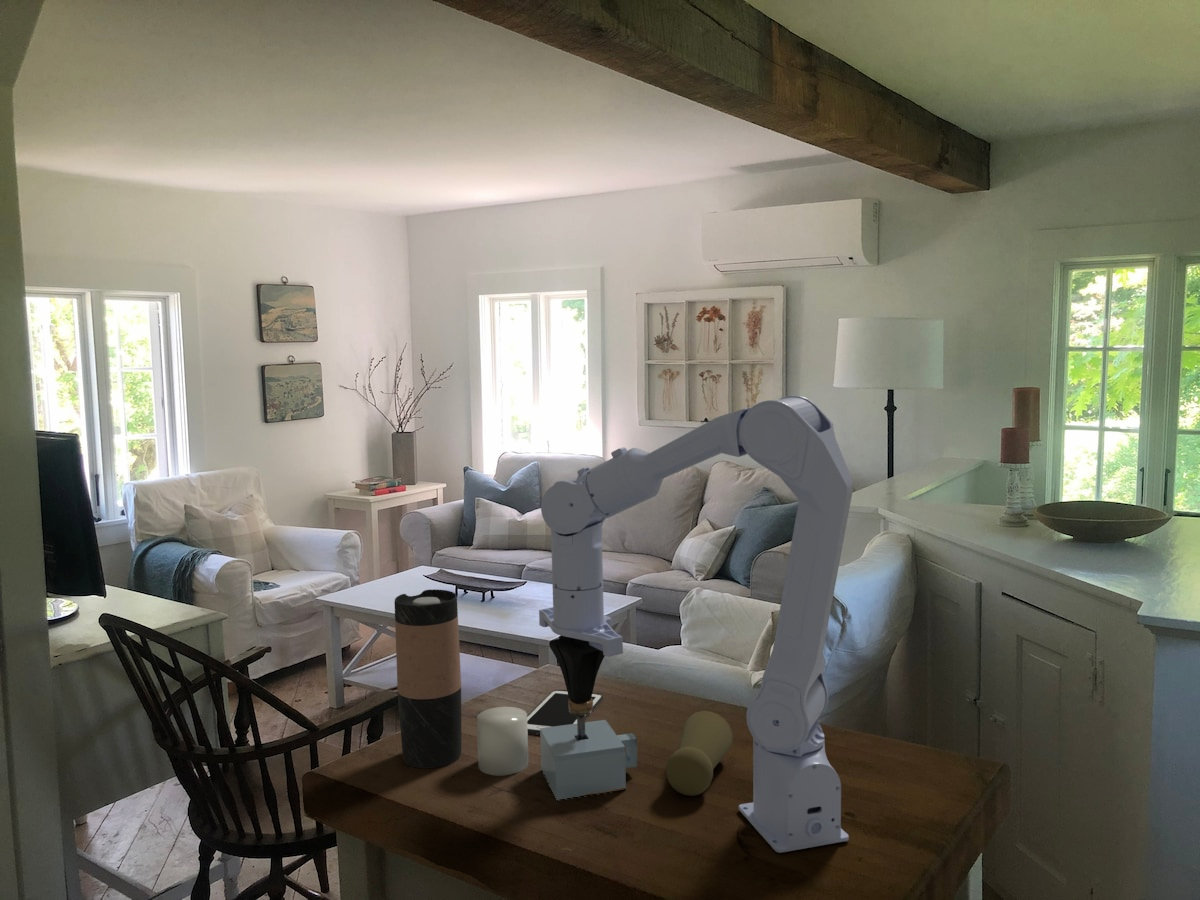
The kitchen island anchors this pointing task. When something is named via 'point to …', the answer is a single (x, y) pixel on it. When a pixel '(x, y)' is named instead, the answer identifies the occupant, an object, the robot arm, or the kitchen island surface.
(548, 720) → the cell phone
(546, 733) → the blue box with knob
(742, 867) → the kitchen island surface
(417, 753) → the travel mug
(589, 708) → the plunger
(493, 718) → the white pillar candle
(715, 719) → the cork
